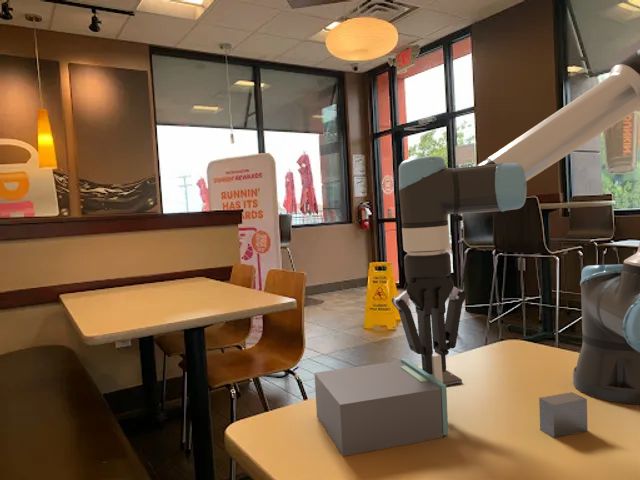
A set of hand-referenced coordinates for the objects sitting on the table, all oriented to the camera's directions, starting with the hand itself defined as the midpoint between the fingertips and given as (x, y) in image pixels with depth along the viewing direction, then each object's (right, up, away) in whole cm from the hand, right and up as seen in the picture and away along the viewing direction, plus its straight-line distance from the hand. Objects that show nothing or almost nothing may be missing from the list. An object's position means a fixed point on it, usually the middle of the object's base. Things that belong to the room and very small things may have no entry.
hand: (435, 391), depth 82 cm
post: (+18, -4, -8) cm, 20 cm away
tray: (-9, -4, -2) cm, 11 cm away
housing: (-11, -5, -3) cm, 13 cm away
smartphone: (0, -4, +16) cm, 16 cm away
